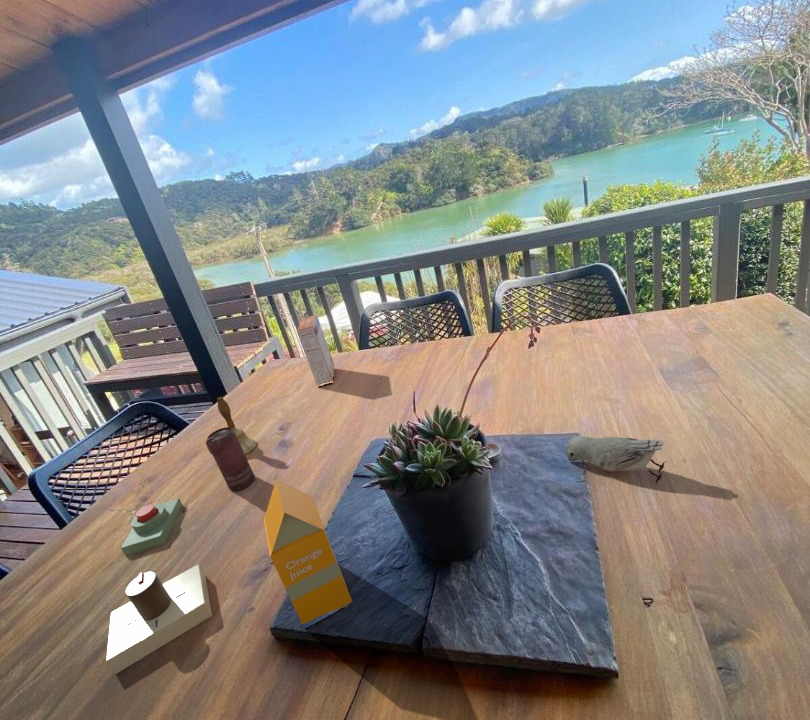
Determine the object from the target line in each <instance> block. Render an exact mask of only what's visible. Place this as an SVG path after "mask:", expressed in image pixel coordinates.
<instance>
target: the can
mask: <svg viewBox="0 0 810 720" xmlns="http://www.w3.org/2000/svg"><path fill="white" fill-rule="evenodd" d="M205 445H206V447H207V450H208V451H209V453H210V454H211V455H212V457H213V459H214V461H215V463H216V465H217V467H218V470H219V471H220V473H221V475H222V477H223V479H224V481H225V484H226V485H227V488H228V489H229V491H232V492H239V491H240V492H241V491H242V490H244V489H247V488H249V486H252V484H253V483H254V481H255V474H254V471H253V469H252V467H251V465H250V463H249V461H248V458H247V456H246V455H245V454H244V452H243V449H242V447H241V445H240V443H239V441H238V438H237V436H236V434H235V432H234V430H232V429H231V428H230V427H228V426H225V427H222V428H219V429H216V430H214V431H212V432H211V433H210V434H209V435H208V436H207V437H206V440H205Z"/></svg>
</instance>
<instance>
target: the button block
mask: <svg viewBox="0 0 810 720" xmlns="http://www.w3.org/2000/svg"><path fill="white" fill-rule="evenodd" d="M153 505H154V506H155V508H156V510H157V514H156V515H155V516H154V517H153V518H151V519H149V520H148V521H145V522H142V523H141V522H139V520H138V518H137V517H136V515H135V516H134V517H133V518H132V520H131V522H130V524H131V527H132V528H131V530H130V531H129V533H128V535H127V537H126V538H125V540H124V542H123V543H122V545H121V546H120V549H121V551H122V552H123V554H124V556H130V555H133V554H136V553H140V552H143V551H146V550H149V549H152V548H156V547H160V546H162V545H165V544H166V542H167V540H168V539H169V536H170V535H171V532H172V530H173V528H174V526H175V524H176V521H177V519H178V518H179V516H180V513H181V511H182V509H183V506H184V505H183V503H182V501H181V499H180V498H178V497H177V498H176V499H172V500H168V501H166V502H163V503H156V504H153Z"/></svg>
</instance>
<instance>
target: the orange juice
mask: <svg viewBox="0 0 810 720" xmlns="http://www.w3.org/2000/svg"><path fill="white" fill-rule="evenodd" d="M272 488H273V489H272V490H271V491H272V492H271V495H270V498H269V501H268V502H269V503H268V505H267V508H266V511H265V514H264V517H263V524H264V530H265V535H266V542H267V548H268V553H269V558H270V559H271V562H272V564H273V566H274V568H275V570H276V572H277V574H278V576H279V579H280V580H281V583H282V584H283V587H284V589H285V591H286V594H287V596H288V599H289V600H290V602H291V603H292V605H293V607H294V610H295V612H296V614H297V616H298V619H299V620H300V622H301V624H302V625H303V624H305V623H307V622H309V621H311V620H313V619H315V618H317V617H319V616H321V615H324V614H326V613H328V612H331V611H333V610H336V609H340V608H342V607H343V606H345V605H347V604H349V603H351V602H353V600H352V596H351V595H350V593H349V592H348V591H349V589H348V586H347V584H346V581H345V578H344V576H343V573H342V570H341V568H340V567H341V566H340V565H338V564H339V561H338V560H337V557H336V555H335V551H334V550H333V548H332V547H333V546H332V544H331V541H330V538H329V536H328V533H327V530H326V528H325V525H323V520H322V518H321V516H320V513H319V511H318V508H317V505H316V502H315V499H314V497H313V496H312V495H310V494H308V493H306V492H304V491H301V490H300V489H298V488H295V487H294V486H292V485H290V484H287V483H285V482H283V481H281V480H279V479H278V478H275V482H274V485H273V487H272Z"/></svg>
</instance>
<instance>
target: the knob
mask: <svg viewBox="0 0 810 720" xmlns="http://www.w3.org/2000/svg"><path fill="white" fill-rule="evenodd" d="M162 584H163V583H162V581H161V579H160V578H159V577H158V575H157V573H156V572H155V571H153V570H152V571H151V570H150V571H149V570H148V571H146V572H143V571H141V572H139V573H138V575H137V576H136V577H134V579H132V580H131V581H130V583H128V585H126V588H125V590H124V591H125V595H126V597H127V598H128V600H129V602H132V604H133V605H134V607H135V608H136V610H137V611H138V613H139V614H140V616H141V617H142V619H143V620H152V619H154V618H156V617H158V616H159V615H161V614H162V613H163V612H164V611H165V610H166V609H167V608H168V606H169V605H170V602H171V597H170V596H169V594H168V593H167V591H166V589H165V588H164V586H163V585H162Z"/></svg>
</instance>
